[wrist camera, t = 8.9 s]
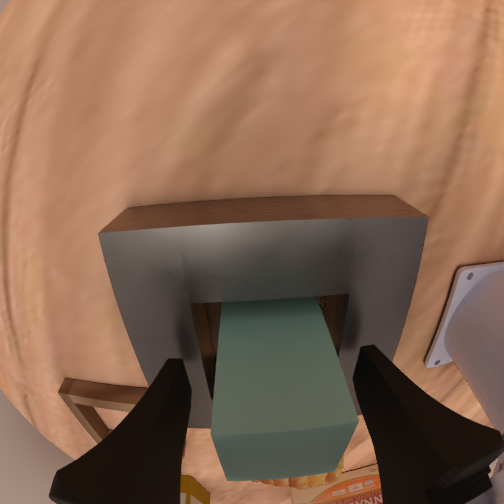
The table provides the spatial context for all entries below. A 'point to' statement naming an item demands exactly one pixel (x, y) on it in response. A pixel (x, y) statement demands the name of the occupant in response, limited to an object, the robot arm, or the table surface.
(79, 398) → the stand frame
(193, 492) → the soap bottle
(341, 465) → the pastry
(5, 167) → the table surface
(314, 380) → the teal peg
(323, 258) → the socket block
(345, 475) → the coffeecake box
